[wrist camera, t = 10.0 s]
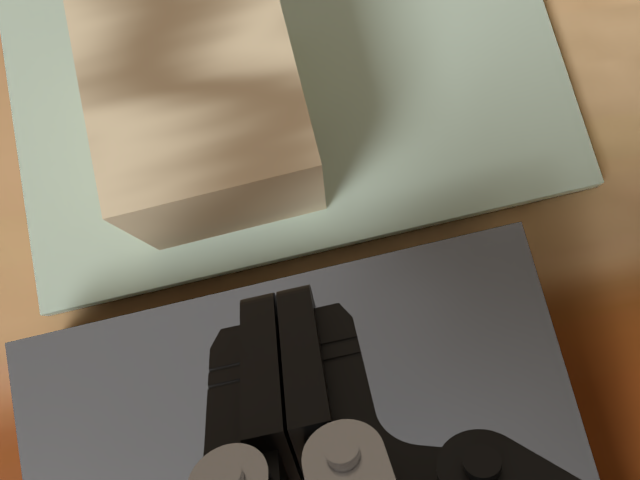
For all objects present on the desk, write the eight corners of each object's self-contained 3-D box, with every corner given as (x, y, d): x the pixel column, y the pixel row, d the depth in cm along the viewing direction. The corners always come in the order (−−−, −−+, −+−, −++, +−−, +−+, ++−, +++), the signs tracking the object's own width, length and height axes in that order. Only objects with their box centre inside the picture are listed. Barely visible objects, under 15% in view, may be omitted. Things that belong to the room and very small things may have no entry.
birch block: (326, 208, 21) (281, 31, 22) (321, 164, 16) (263, -61, 17) (159, 250, 21) (123, 69, 22) (102, 219, 16) (60, -12, 17)
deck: (495, 239, 21) (521, 221, 18) (602, 603, 19) (652, 651, 16) (52, 344, 21) (4, 343, 18) (107, 723, 18) (63, 794, 16)
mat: (473, -183, 24) (477, -197, 23) (596, 187, 21) (604, 182, 20) (-8, -73, 24) (-16, -83, 23) (49, 316, 21) (40, 315, 20)
